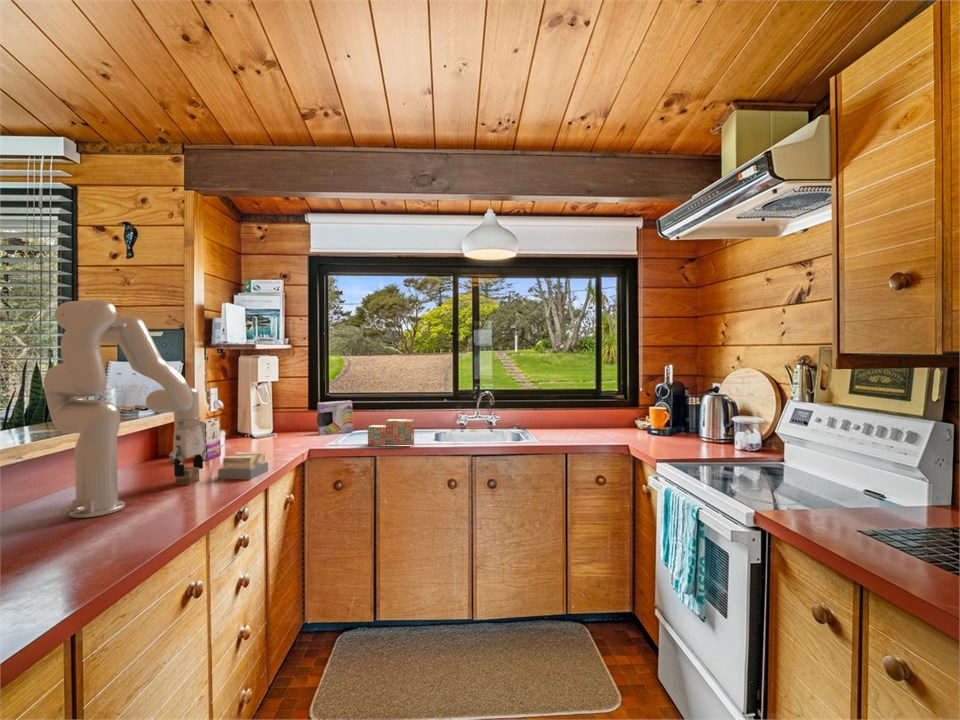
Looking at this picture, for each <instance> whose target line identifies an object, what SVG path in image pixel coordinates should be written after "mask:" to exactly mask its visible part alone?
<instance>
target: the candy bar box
mask: <svg viewBox="0 0 960 720" xmlns="http://www.w3.org/2000/svg"><path fill="white" fill-rule="evenodd" d="M220 419H221V418H217V417H216V418H212V417H210V418H206V419H203V420H200V425H201V429H202V433H203V441H204V443H205V444H206V445H205V451H204V453H203V454H204V456H203V460H207V461H210V460H212V459H214V457H215V458H217V457H219V455H220V456H221V455H222V453H221V451H222V449H221V426H220V425H221V423H220V422H221V421H220ZM209 459H210V460H209Z"/></svg>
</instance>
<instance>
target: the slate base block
mask: <svg viewBox="0 0 960 720" xmlns="http://www.w3.org/2000/svg"><path fill="white" fill-rule="evenodd" d="M267 471H268V472H269V462H267V461H265V463H263V464H261V465H258V466H256V467H254V468H252V469H224V468H223V467H221V468H219V469H218V470H217V473H218V475H217V477H218V478H217V480H218V479H252V480H254V479H256V478H258V477H260V476H262V475H264V474H266V473H268V472H267ZM265 472H266V473H265ZM263 473H264V474H263ZM261 474H262V475H261ZM259 475H260V476H259ZM257 476H258V477H257ZM255 477H256V478H255ZM253 478H254V479H253Z"/></svg>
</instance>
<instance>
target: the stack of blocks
mask: <svg viewBox="0 0 960 720" xmlns="http://www.w3.org/2000/svg"><path fill="white" fill-rule="evenodd" d="M413 444H415V419H408V418H402V419H401V418H400V419H398V418H396V419H395V418H389V419H387V420H385V425H383V424H381V425H380V424H372V425H369V426H367V446H368V445H412V446H414V445H413Z"/></svg>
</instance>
